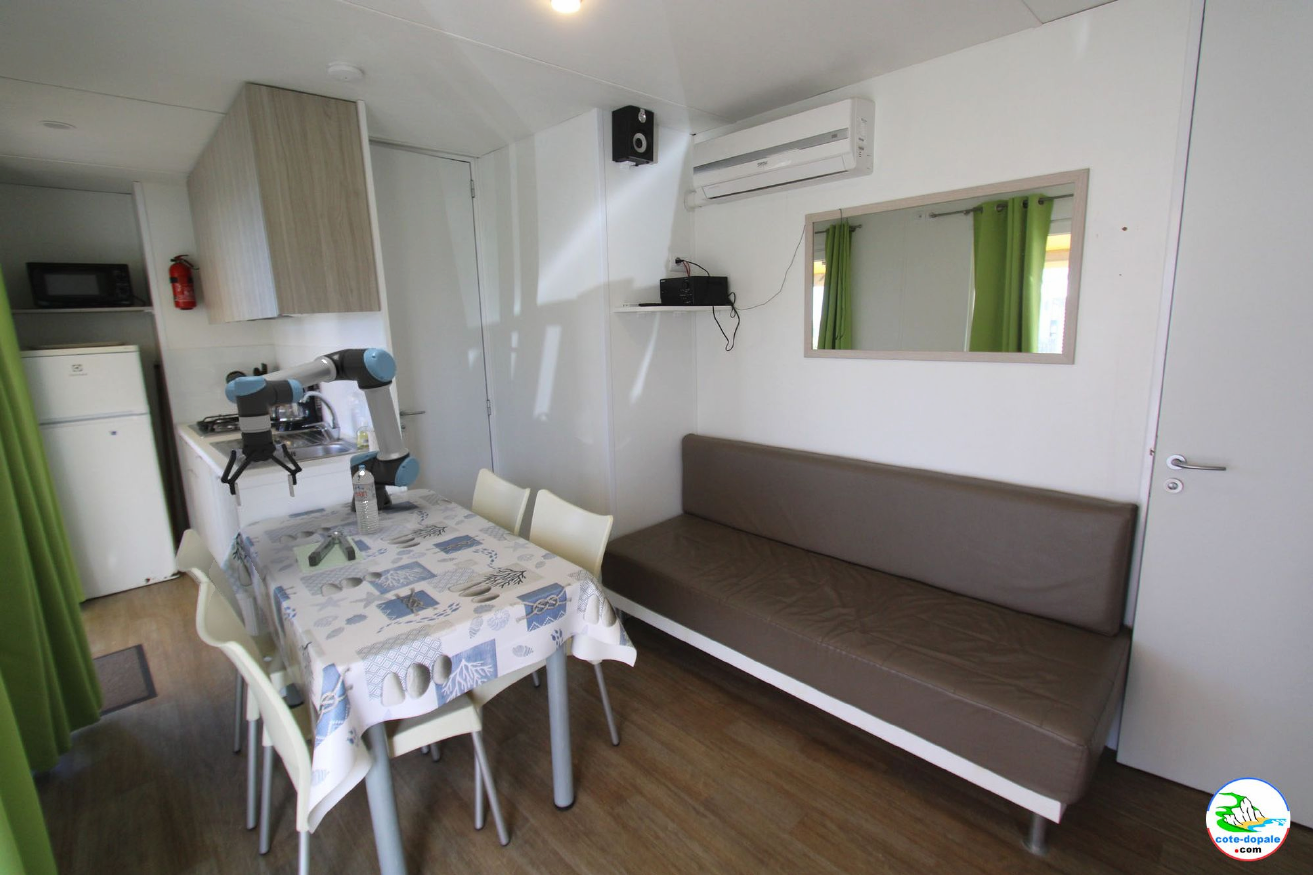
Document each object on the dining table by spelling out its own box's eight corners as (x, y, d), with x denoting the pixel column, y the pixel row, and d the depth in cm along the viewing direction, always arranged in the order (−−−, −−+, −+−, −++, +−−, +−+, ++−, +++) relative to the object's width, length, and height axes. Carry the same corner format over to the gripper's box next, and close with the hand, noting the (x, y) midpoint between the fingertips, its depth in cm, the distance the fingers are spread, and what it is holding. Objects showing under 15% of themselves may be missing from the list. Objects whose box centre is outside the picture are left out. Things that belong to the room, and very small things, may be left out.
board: (349, 539, 210) (349, 536, 210) (365, 562, 190) (365, 559, 189) (293, 551, 200) (292, 547, 200) (303, 577, 180) (302, 573, 180)
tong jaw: (334, 544, 201) (333, 536, 201) (316, 565, 185) (315, 556, 184) (327, 545, 201) (326, 537, 200) (309, 565, 185) (308, 556, 184)
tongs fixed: (342, 537, 209) (341, 527, 208) (356, 559, 190) (355, 547, 189) (327, 540, 206) (326, 530, 205) (340, 562, 187) (338, 551, 186)
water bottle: (354, 536, 213) (346, 467, 208) (371, 530, 219) (363, 462, 214) (367, 539, 210) (359, 469, 205) (384, 533, 216) (376, 464, 211)
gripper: (302, 423, 188) (310, 489, 192) (202, 434, 172) (213, 506, 176) (307, 426, 182) (315, 494, 186) (204, 437, 167) (216, 512, 171)
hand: (266, 500), depth 181 cm, fingers open, 13 cm apart
